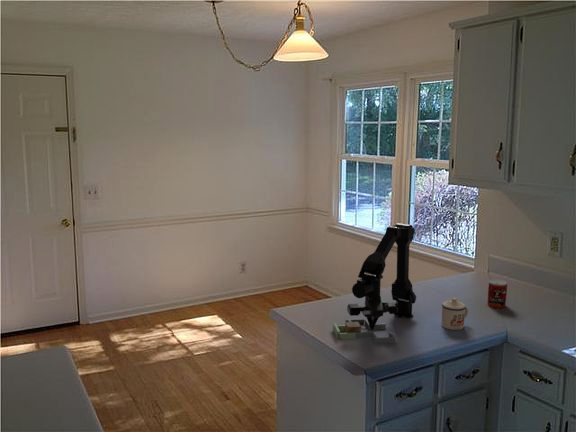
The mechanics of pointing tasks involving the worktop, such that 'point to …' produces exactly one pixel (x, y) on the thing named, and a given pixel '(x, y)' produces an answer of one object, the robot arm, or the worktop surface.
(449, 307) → the teacup with lid
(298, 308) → the worktop surface
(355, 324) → the walnut block
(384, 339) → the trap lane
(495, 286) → the canned food
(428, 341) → the worktop surface
